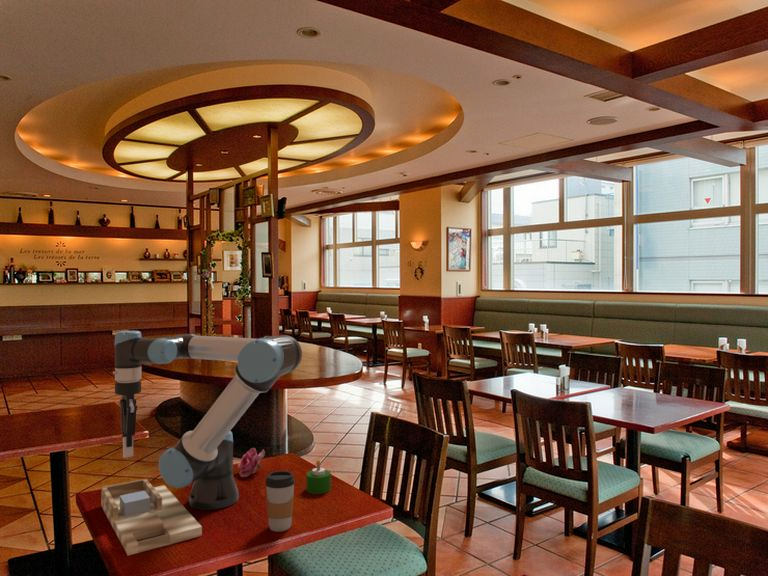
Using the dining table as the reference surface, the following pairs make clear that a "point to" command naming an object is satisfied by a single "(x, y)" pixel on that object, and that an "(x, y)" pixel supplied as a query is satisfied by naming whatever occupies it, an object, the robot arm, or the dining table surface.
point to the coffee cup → (280, 499)
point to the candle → (318, 480)
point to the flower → (250, 462)
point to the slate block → (134, 503)
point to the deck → (148, 517)
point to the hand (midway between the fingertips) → (128, 456)
